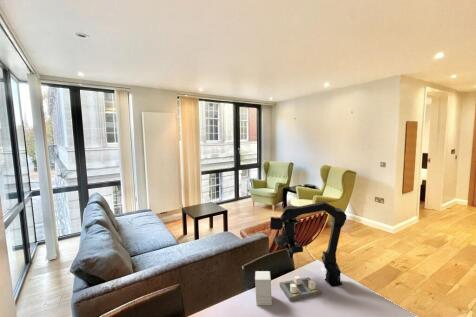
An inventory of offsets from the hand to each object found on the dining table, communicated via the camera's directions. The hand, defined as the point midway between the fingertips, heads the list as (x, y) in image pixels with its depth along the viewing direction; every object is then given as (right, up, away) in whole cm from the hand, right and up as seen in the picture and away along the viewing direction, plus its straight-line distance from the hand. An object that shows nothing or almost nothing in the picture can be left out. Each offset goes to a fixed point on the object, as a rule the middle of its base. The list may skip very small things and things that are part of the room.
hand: (290, 258), depth 126 cm
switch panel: (+3, -13, -9) cm, 16 cm away
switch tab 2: (+2, -10, -7) cm, 12 cm away
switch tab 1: (-1, -11, -13) cm, 17 cm away
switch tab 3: (+8, -10, -11) cm, 17 cm away
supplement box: (-16, -14, -15) cm, 26 cm away
